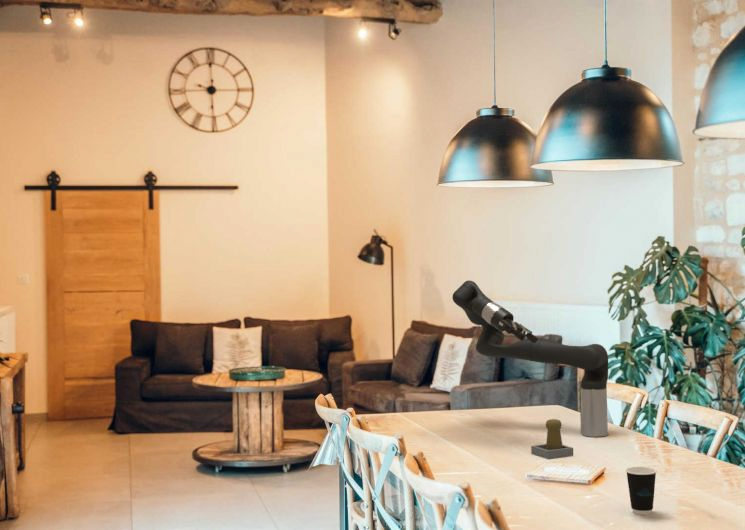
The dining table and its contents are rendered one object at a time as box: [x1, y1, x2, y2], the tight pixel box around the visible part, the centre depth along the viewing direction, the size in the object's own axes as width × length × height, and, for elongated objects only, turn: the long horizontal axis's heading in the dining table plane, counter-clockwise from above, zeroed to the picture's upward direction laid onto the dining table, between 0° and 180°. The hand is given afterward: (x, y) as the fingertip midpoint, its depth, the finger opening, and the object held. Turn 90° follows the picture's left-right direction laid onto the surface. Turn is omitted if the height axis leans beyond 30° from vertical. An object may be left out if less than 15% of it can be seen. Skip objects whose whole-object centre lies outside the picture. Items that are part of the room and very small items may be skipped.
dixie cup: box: [624, 466, 658, 516], centre depth 249 cm, size 8×8×11 cm
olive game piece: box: [545, 418, 564, 450], centre depth 320 cm, size 6×6×11 cm
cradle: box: [530, 443, 574, 460], centre depth 320 cm, size 10×10×3 cm
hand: (530, 339), depth 332 cm, fingers open, 8 cm apart
